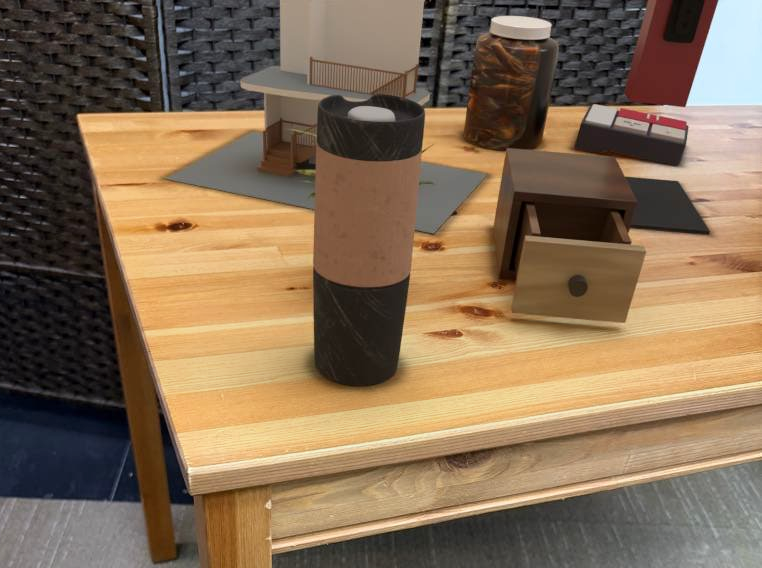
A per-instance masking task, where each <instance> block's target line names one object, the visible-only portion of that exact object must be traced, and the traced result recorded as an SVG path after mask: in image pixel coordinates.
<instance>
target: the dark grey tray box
mask: <svg viewBox="0 0 762 568" xmlns="http://www.w3.org/2000/svg"><path fill="white" fill-rule="evenodd" d="M687 123H688V122H687V121H686V120H682V119H677V118H673V117H667V116H662V115H657V114H652V113H647V112H643V111H638V110H634V109H628V108H622V107H621V108H620V109H619V110H618V109H617V108H616V107H611V106H606V105H601V104H596V103H594V104H592V105H589V107H588V108H587V110H586V113H585V114H584V116H583V118H582V119H581V123H580V125H579V129H578V132H577V136H576V139H575V143H574V149H576V150H580V151H584V152H589V153H593V154H597V155H599V154H602V153H605V152H609V153H615V154H619V155H624V156H629V157H633V158H638V159H644V160H648V161H653V162H657V163H662V164H666V165H670V166H674V167H675V166H676V167H678V166H680V164H681V161H682V158H683V156H684V152H685V149H686V147H687V141H688V135H689V127H690V126H689V125H688V124H687Z"/></svg>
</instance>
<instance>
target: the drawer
mask: <svg viewBox="0 0 762 568" xmlns="http://www.w3.org/2000/svg"><path fill="white" fill-rule="evenodd" d="M646 254H647V248H646V247H645V245H639V244H632V239H631V236H630V234H629V233H628V232H627V230H626V227H625V225H624V223H623V221H622V218H621V216H620V214H619V211H618V209H608V208H596V207H585V206H573V205H562V204H550V203H538V202H527V201H523V205H522V210H521V215H520V221H519V226H518V231H517V237H516V242H515V247H514V253H513V259H514V266H515V273H516V280H515V285H514V290H513V295H512V300H511V306H510V310H511V314H518V315H519V314H520V315H532V316H541V317H542V316H543V317H552V318H563V319H575V320H586V321H599V322H611V323H618V324H625V323H626V321H627V318H628V315H629V311H630V308H631V304H632V302H633V298H634V294H635V291H636V288H637V284H638V281H639V278H640V275H641V271H642V267H643V265H644V261H645V258H646Z"/></svg>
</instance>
